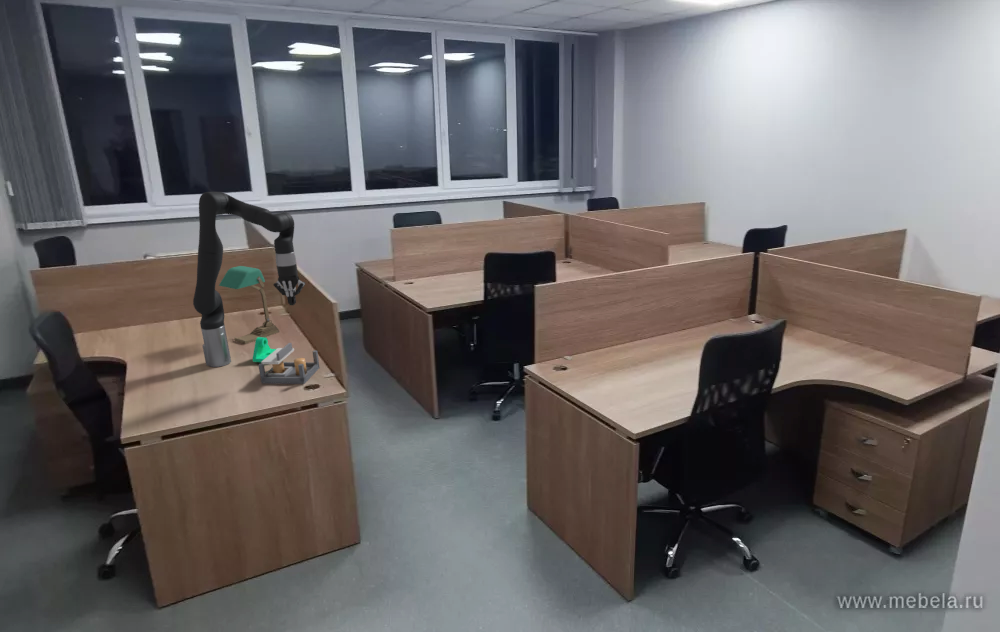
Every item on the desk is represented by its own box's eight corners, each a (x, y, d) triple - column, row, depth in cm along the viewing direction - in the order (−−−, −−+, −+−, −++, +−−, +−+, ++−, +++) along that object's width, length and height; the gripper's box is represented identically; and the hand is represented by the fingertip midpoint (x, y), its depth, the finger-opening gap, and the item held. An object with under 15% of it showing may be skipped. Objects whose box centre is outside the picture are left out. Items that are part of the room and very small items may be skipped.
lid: (261, 364, 233) (260, 354, 232) (278, 350, 247) (276, 341, 246) (278, 364, 232) (276, 355, 231) (294, 350, 246) (292, 341, 245)
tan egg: (271, 375, 240) (269, 361, 238) (276, 370, 244) (274, 357, 242) (282, 375, 240) (280, 361, 238) (286, 370, 244) (284, 357, 242)
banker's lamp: (284, 333, 292) (273, 265, 281) (247, 346, 275) (235, 274, 264) (264, 328, 300) (253, 261, 289) (227, 340, 284) (214, 271, 273)
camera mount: (269, 365, 254) (265, 343, 250) (253, 364, 255) (249, 342, 252) (283, 354, 265) (280, 333, 262) (268, 353, 266) (265, 332, 263)
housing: (261, 383, 235) (258, 365, 233) (279, 367, 250) (276, 350, 248) (304, 383, 233) (301, 365, 231) (319, 367, 249) (317, 350, 246)
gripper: (306, 261, 236) (311, 302, 241) (274, 261, 237) (280, 302, 242) (298, 265, 229) (304, 307, 234) (266, 265, 230) (272, 307, 235)
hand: (292, 304), depth 238 cm, fingers closed
